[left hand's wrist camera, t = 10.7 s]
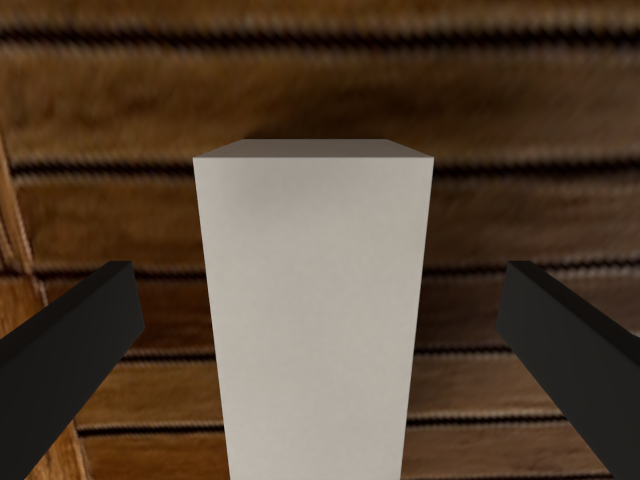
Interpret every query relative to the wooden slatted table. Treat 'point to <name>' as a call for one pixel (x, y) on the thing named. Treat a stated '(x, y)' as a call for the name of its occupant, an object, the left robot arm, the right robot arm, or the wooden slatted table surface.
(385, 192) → the cabinet
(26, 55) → the wooden slatted table surface
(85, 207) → the wooden slatted table surface
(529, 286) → the left robot arm
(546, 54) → the wooden slatted table surface
